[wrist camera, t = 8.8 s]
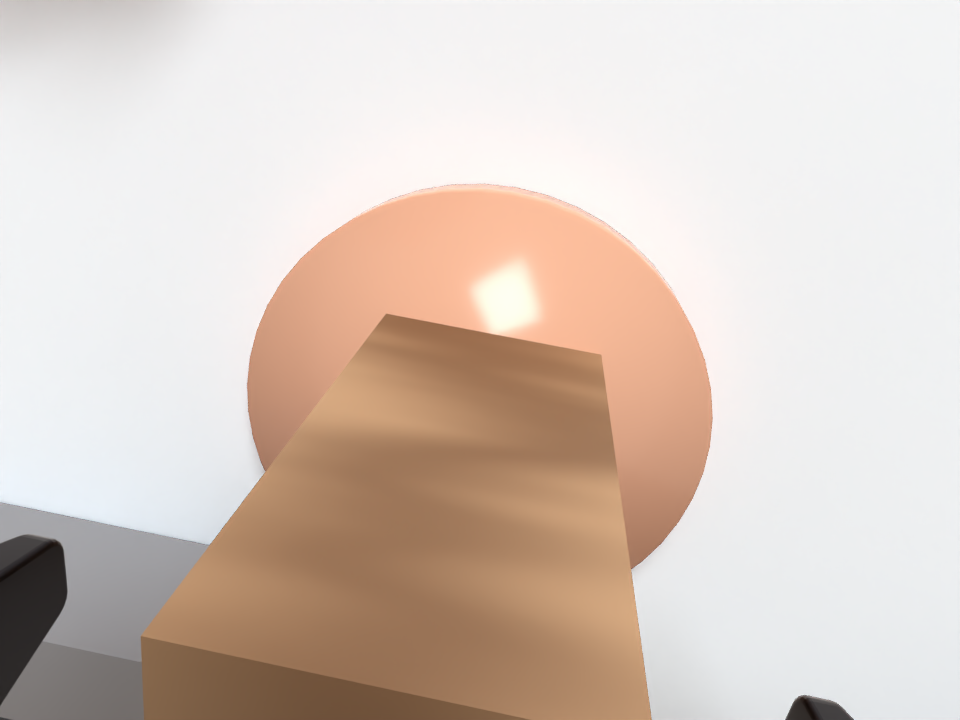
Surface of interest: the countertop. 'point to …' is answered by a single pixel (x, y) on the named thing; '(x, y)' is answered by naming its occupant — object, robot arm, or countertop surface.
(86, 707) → the pocket holder
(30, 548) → the robot arm
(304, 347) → the terracotta plate
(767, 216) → the countertop surface
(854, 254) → the countertop surface
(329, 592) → the walnut block
